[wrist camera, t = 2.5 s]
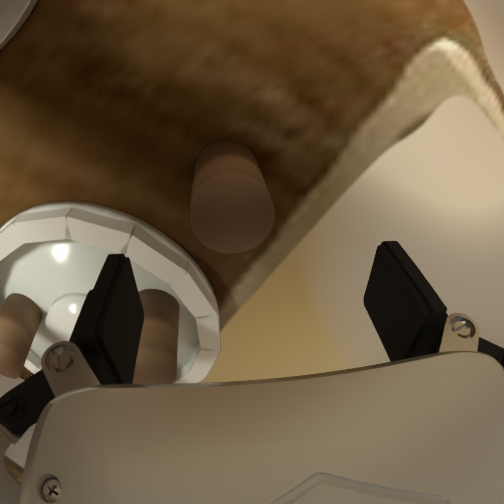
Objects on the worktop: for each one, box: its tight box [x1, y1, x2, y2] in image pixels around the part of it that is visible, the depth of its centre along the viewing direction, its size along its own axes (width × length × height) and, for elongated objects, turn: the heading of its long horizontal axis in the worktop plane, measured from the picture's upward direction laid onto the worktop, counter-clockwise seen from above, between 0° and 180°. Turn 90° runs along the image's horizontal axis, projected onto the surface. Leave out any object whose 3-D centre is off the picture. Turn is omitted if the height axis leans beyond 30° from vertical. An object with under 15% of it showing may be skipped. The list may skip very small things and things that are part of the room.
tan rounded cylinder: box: [189, 140, 275, 254], centre depth 17 cm, size 4×4×6 cm
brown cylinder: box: [0, 293, 42, 379], centre depth 20 cm, size 4×4×6 cm
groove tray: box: [0, 201, 221, 384], centre depth 24 cm, size 22×22×2 cm
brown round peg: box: [132, 289, 180, 384], centre depth 21 cm, size 4×4×6 cm
